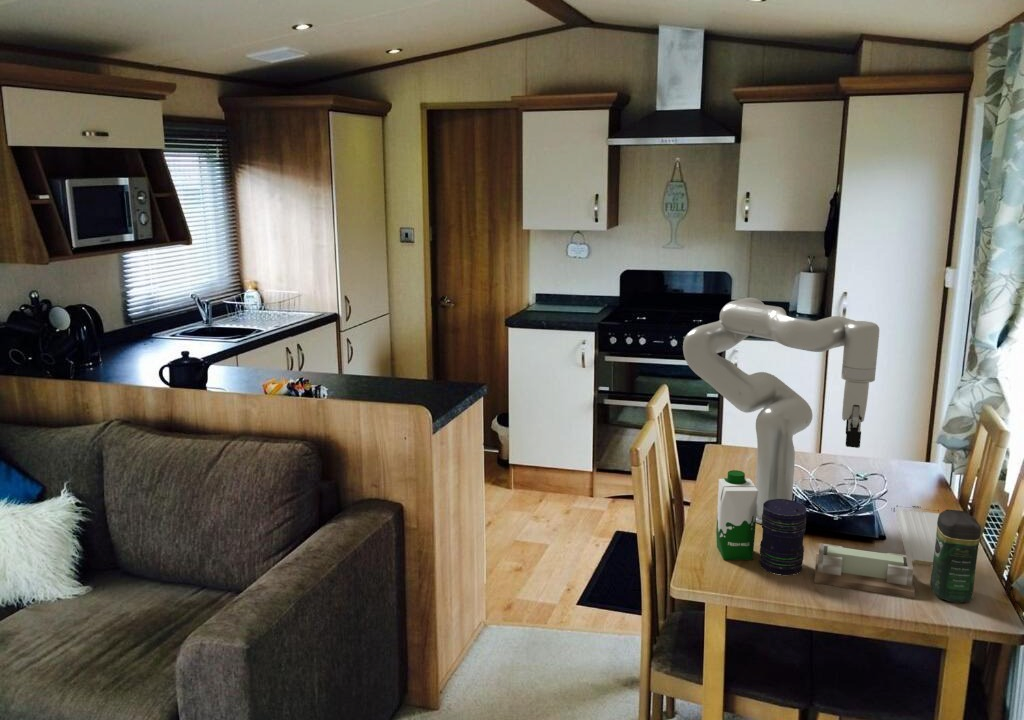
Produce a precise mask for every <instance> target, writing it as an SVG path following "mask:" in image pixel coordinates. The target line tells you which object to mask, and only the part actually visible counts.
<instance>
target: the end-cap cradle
mask: <svg viewBox="0 0 1024 720" xmlns="http://www.w3.org/2000/svg"><path fill="white" fill-rule="evenodd" d="M828 546H834V547H841V548H843V546H842V545H834V544H827V543H819V546H818V554H817V553H816V555H815V566H814V567H815V568H814V582H815V583H814V584H819V583H820V585H826V584H828V585H827V586H832V585H834V587H839V588H848V589H853V590H857V591H858V590H859V591H867V592H872V593H878V594H884V595H885V594H886V595H892V596H897V595H898V596H899V597H904V596H906V597H905V598H910V597H913V599H914V598H915V585H914V579H913V576H914V575H913V573H914V567H913V563H912V560H911V556H908V555H906V554H899V553H892V552H887V553H886V554H892V555H899V556H903V560H904V566H898V565H891V564H888V571H887V579H883V578H877V577H870V576H863V575H856V574H850V573H843V572H841V567H842V557H835V556H828V555H827V548H828ZM898 596H897V597H898Z"/></svg>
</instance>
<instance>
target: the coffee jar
mask: <svg viewBox="0 0 1024 720" xmlns="http://www.w3.org/2000/svg"><path fill="white" fill-rule="evenodd" d="M981 529H982V528H981V525H980V523H979V522H978V521H977V520H976V518H975V517H974V516H972V515H970V514H969V513H967V511H965V510H958V509H957V510H956V509H948V508H947V509H945V510H943V511H942V512H940V513H939V517H938V521H937V533H936V543H935V551H934V559H933V565H931V566H932V568H931V571H930V572H931V574H930V581H929V582H930V588H931V590H932V592H933V594H934V595H935V597H938V598H939V599H941V600H945V601H949V602H950V603H954V604H955V603H957V604H958V603H959V604H960V603H967V602H971V601H972V599H973V594H974V593H973V592H974V586H975V585H974V584H975V574H976V568H977V562H978V561H977V560H978V551H979V545H980V539H981Z"/></svg>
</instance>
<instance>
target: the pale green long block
mask: <svg viewBox="0 0 1024 720" xmlns="http://www.w3.org/2000/svg"><path fill="white" fill-rule="evenodd" d="M827 555H828V556H835V557H842V567H841V572H843V573H850V574H856V575H863V576H870V577H877V578H883V579H887V571H888V564H891V565H898V566H904V560H903V556H899V555H892V554H887V553H884V552H877V551H876V552H875V551H868V550H861V549H855V548H848V547H842V548H841V547H834V546H828V548H827Z"/></svg>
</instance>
